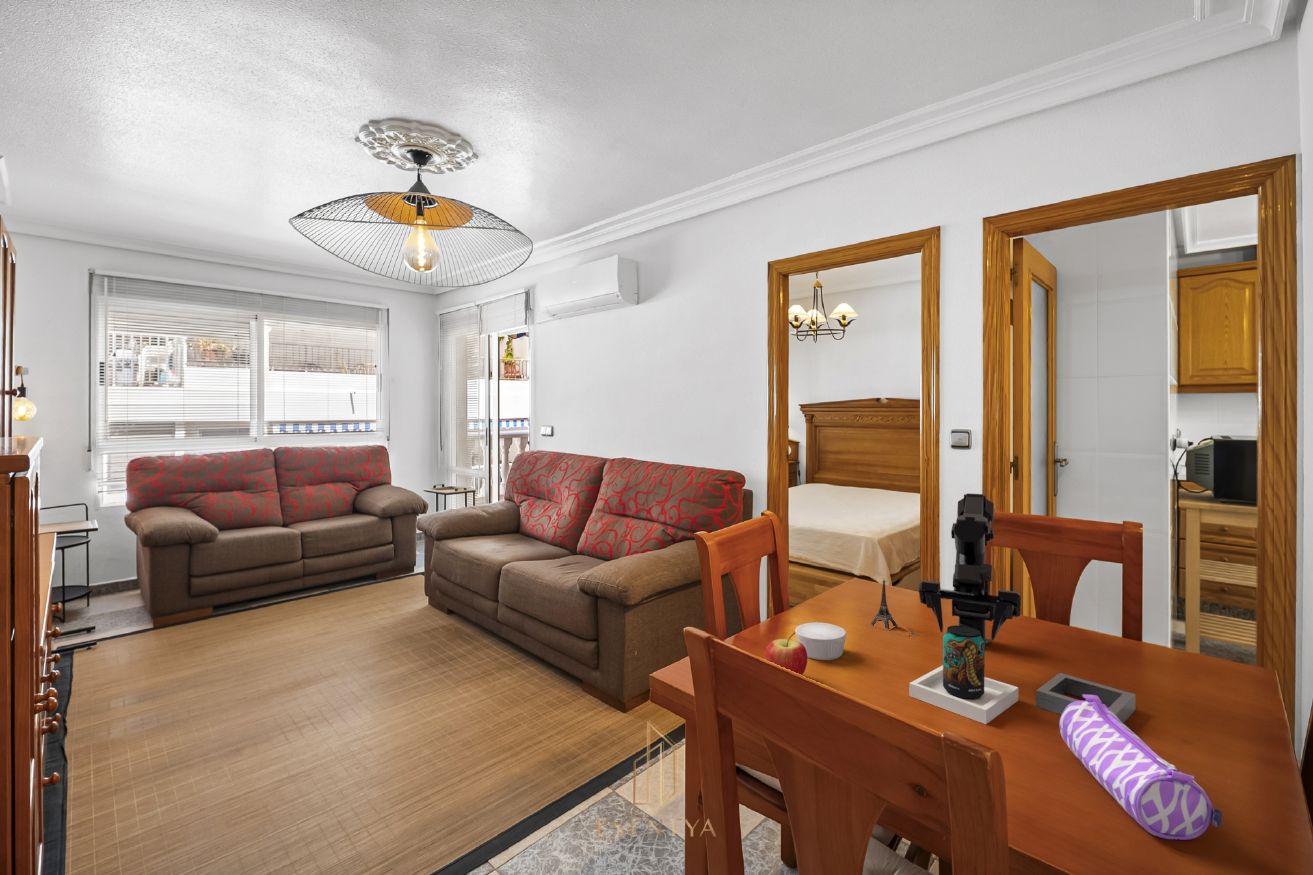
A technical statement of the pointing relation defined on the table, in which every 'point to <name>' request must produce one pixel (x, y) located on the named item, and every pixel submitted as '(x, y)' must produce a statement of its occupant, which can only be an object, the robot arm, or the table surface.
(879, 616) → the eiffel tower figurine
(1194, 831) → the pencil case
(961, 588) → the robot arm
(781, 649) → the apple
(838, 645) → the ramekin
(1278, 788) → the table surface
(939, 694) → the tray
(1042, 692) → the collar
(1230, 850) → the table surface
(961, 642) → the beverage can
